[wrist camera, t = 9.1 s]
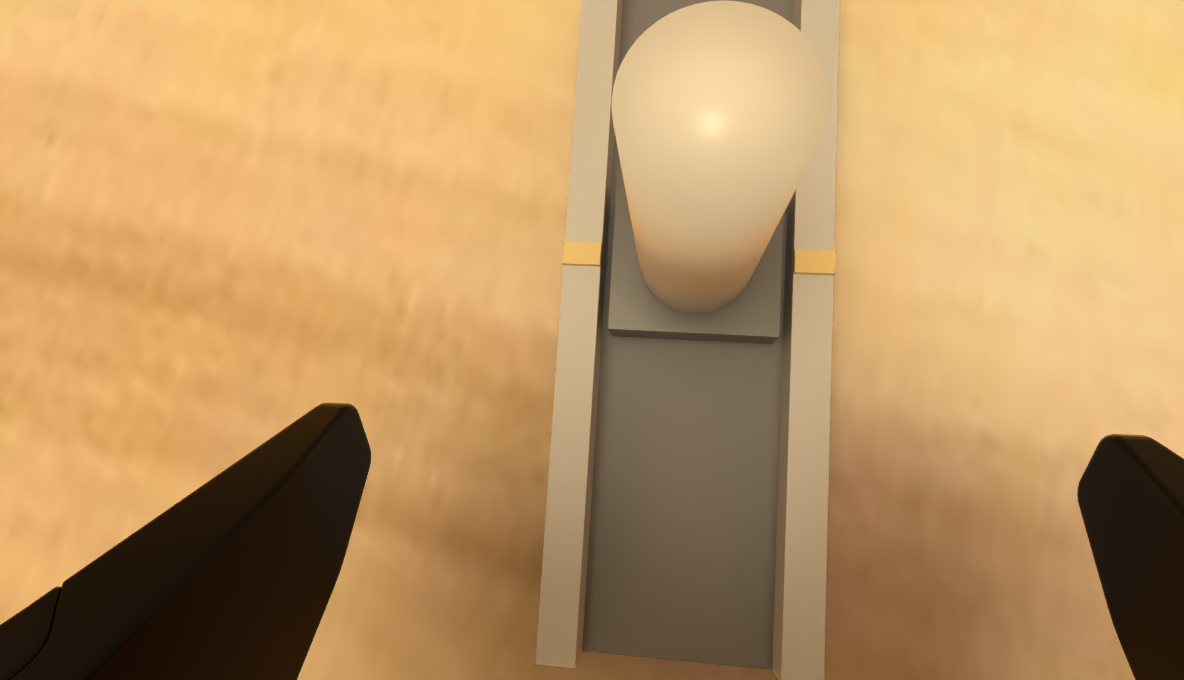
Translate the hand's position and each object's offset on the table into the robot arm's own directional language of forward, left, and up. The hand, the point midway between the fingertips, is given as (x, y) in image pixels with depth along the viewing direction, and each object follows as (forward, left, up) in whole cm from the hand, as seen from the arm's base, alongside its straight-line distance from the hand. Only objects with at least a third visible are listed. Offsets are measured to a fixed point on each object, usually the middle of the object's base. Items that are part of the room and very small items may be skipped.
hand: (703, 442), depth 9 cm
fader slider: (+4, -3, -11) cm, 12 cm away
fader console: (+3, -3, -13) cm, 14 cm away
